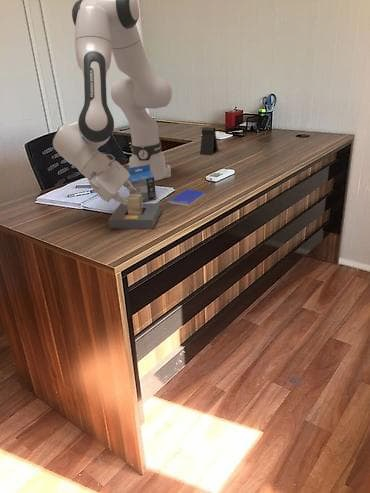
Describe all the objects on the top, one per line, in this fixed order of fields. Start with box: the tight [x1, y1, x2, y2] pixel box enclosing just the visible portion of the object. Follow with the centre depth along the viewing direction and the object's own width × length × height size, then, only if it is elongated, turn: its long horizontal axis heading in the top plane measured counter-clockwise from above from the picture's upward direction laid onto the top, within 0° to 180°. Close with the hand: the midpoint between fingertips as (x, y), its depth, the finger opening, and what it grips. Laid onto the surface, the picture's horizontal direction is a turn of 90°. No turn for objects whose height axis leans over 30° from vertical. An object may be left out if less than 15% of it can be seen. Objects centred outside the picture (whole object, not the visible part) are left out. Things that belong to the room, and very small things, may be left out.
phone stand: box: [199, 126, 219, 156], centre depth 208 cm, size 9×6×12 cm, turn 154°
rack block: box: [107, 202, 162, 230], centre depth 140 cm, size 14×14×3 cm
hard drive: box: [167, 189, 206, 207], centre depth 155 cm, size 2×8×12 cm
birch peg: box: [126, 194, 144, 215], centre depth 139 cm, size 4×4×8 cm
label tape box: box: [126, 164, 157, 203], centre depth 154 cm, size 9×4×12 cm, turn 114°
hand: (131, 198), depth 137 cm, fingers open, 8 cm apart
